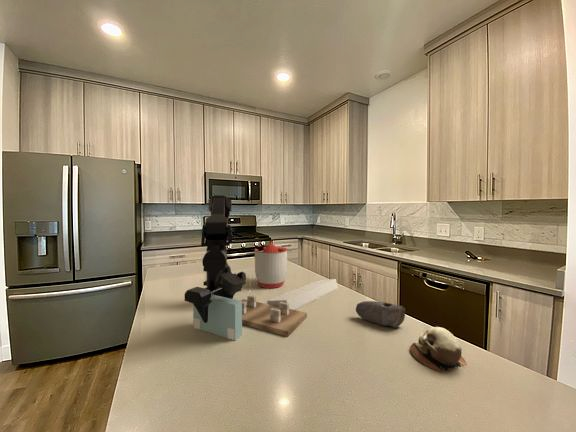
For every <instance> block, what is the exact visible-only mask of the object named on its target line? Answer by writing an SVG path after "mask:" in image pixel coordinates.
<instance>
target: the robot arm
mask: <svg viewBox="0 0 576 432" xmlns="http://www.w3.org/2000/svg"><path fill="white" fill-rule="evenodd" d="M232 201H233V200H232V199H230V198H228V197H227V195H225V194H214V195H212V196H211V198H209V199H208V212H210V216H208V217H206V219H205V222H204V224H202V229H201V243H200V247H206V252H205V253H204V256H203V257H202V260H201V261H202V266H203V269H202V270H203V272H205V273H206V280H205V281H203V286H205V287H200V286H195V287H191V288H189V289H187V290H186V291H185V292H184V302H188V303H190V304H192V306H193V305H194V306H195V307H196V309H197V311H198V313H199V314H200V316H201V318H202V320H203V322H204V323H207V322H208V306H209V304H210V303H211V302H212V300H210V298H211V294H212V295H217V296H221V297H226V298H230V299H234V296H235V294H237V293H239V292H241V291H242V290H243V289H242V288H243V286H244V285H246V284H247V281H246V280H247V277H246V275H247V274H246V273H245V272H244V271H240V272H237V273H236V272H235V273H232V271H231V270H232V269H231V266H230V265H229V264H228V248H227V247H228V246H229V247H230V246H231V243H233V228H232V227H231V225H230V224H228V222H229V221H228V220H229V218H230V217H231V215H230V214H231V212H232V210H233V209H232V205H233V203H232Z"/></svg>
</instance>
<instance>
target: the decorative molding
mask: <svg viewBox="0 0 576 432" xmlns="http://www.w3.org/2000/svg"><path fill="white" fill-rule="evenodd" d="M336 289H337V290H338V289H339V287H338V282H337V279H336V278H331V279H322V280H320V279H319V280H317V281H314V282H311V283H309V284H306V285H304V286H301V287H299V288H296V289H294V290H291V291H288V292H286V293H282V294H281V295H278V296H276V297H273V298H271V299H268V300H267V304H269V305H273V306H278V307H279V303H280V302H285V303H289V309H292V310H296V311H298V309H301V308H302V307H304V306H307V305H309V304H311V303H312V302H315V301H316V300H318V299H321V298H323V297H324V295H325V296H327V295H328V293H329V294H331V293H333V292H335V291H337V290H336ZM334 290H335V291H334ZM330 292H331V293H330ZM326 294H327V295H326ZM322 296H323V297H322ZM320 297H321V298H320Z"/></svg>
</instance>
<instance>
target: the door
mask: <svg viewBox="0 0 576 432" xmlns="http://www.w3.org/2000/svg"><path fill="white" fill-rule="evenodd" d="M210 300H212V302H211V303H210V304H209V306H208V322H207V323H204V322H203V320H202V318H201V316H200V314H199V313H198V311H197V309H196V307H195V306H194V305H193V304H192V307H193V310H192V311H193V313H192V314H193V320H192V321H193V322H192V323H193V328H194V329H197V330H200V331H204V332H206V333H210V334H212V335H213V334H214V335H216V336H219V337H223V338H226V339H228V340H229V339H230V340H231V341H236V340H238V339H240V338H241V337H242V336H243V324H242V301H241V300H238V299H235V298H233V299H230V298H226V297H221V296H217V295H212V294H211V298H210Z"/></svg>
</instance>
